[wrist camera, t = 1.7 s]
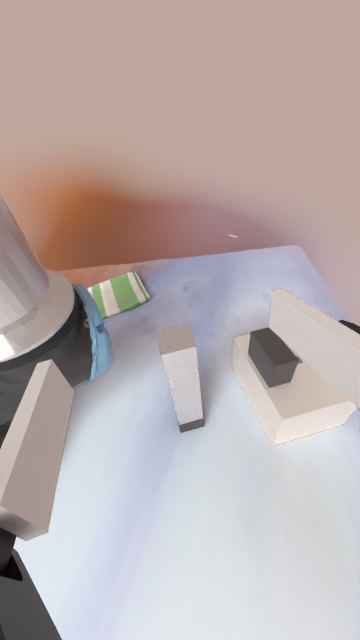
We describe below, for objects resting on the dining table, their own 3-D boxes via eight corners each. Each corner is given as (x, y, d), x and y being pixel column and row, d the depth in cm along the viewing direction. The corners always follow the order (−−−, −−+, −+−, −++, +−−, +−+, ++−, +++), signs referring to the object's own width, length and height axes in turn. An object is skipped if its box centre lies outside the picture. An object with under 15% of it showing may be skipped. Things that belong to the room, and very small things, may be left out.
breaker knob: (269, 387, 28) (275, 366, 25) (247, 353, 33) (250, 331, 30) (290, 381, 29) (298, 359, 26) (266, 348, 33) (271, 326, 30)
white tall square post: (180, 432, 33) (160, 355, 22) (175, 410, 36) (155, 331, 24) (204, 426, 34) (196, 346, 22) (197, 404, 37) (187, 323, 25)
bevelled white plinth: (271, 446, 31) (283, 419, 25) (231, 367, 41) (233, 337, 36) (342, 424, 32) (367, 394, 26) (286, 353, 42) (295, 321, 37)
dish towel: (63, 298, 68) (59, 290, 66) (136, 276, 73) (134, 268, 71) (64, 334, 55) (59, 326, 53) (153, 304, 60) (151, 296, 58)
